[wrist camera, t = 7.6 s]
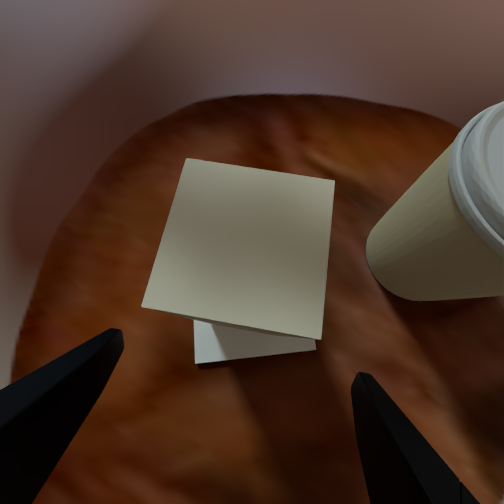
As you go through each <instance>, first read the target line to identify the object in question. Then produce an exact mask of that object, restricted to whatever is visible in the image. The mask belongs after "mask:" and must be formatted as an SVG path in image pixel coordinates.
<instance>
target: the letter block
mask: <svg viewBox="0 0 504 504" xmlns="http://www.w3.org/2000/svg"><path fill="white" fill-rule="evenodd" d="M334 184H335V181H333V180H327V179H320V178H314V177H307V176H301V175H294V174H288V173H281V172H275V171H268V170H262V169H255V168H248V167H242V166H235V165H229V164H222V163H216V162H209V161H203V160H196V159H190V158H186V161H185V164H184V167H183V171H182V174H181V177H180V181H179V184H178V187H177V190H176V194H175V197H174V200H173V204H172V207H171V210H170V213H169V217H168V220H167V223H166V227H165V230H164V233H163V236H162V240H161V243H160V246H159V250H158V253H157V256H156V259H155V263H154V266H153V269H152V273H151V276H150V279H149V282H148V286H147V289H146V292H145V296H144V299H143V302H142V306H141V307H144V308H148V309H152V310H156V311H160V312H165V313H169V314H173V315H177V316H181V317H185V318H189V319H193V320H198V321H202V322H206V323H210V324H215V325H220V326H226V327H231V328H237V329H242V330H248V331H253V332H259V333H264V334H269V335H275V336H285V337H297V338H308V339H319V340H321V334H322V323H323V311H324V300H325V288H326V276H327V265H328V253H329V242H330V230H331V219H332V207H333V196H334Z"/></svg>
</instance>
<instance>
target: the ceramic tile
mask: <svg viewBox="0 0 504 504" xmlns="http://www.w3.org/2000/svg"><path fill="white" fill-rule="evenodd" d="M194 341H195V364H197V363H206V362H215V361H223V360H232V359H241V358H249V357H258V356H267V355H275V354H284V353H293V352H301V351H310V350H316V345H315V339H308V338H297V337H285V336H275V335H269V334H264V333H259V332H253V331H248V330H242V329H237V328H231V327H226V326H220V325H215V324H210V323H206V322H202V321H198V320H194Z"/></svg>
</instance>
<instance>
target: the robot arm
mask: <svg viewBox="0 0 504 504" xmlns="http://www.w3.org/2000/svg"><path fill="white" fill-rule="evenodd" d="M123 350H124V339H123V333H122V331H121V330H120V329H114V328H110V329H108V330H106V331H104V332H103V333H101V334H99V335H97V336H95V337H94V338H92V339H90V340H88V341H86V342H85V343H83V344H81V345H79V346H78V347H76V348H74V349H72V350H70V351H69V352H67V353H65V354H63V355H62V356H60V357H58V358H56V359H54V360H53V361H51V362H49V363H47V364H46V365H44V366H42V367H40V368H38V369H37V370H35V371H33V372H31V373H29V374H28V375H26V376H24V377H22V378H21V379H19V380H17V381H15V382H13V383H12V384H10V385H8V386H6V387H5V388H3V389H1V390H0V504H32V503H33V501H34V499H35V498H36V496H37V495H38V493H39V492H40V490H41V488H42V487H43V485H44V484H45V482H46V480H47V479H48V477H49V476H50V474H51V472H52V471H53V469H54V468H55V466H56V465H57V463H58V461H59V460H60V458H61V457H62V455H63V453H64V452H65V450H66V449H67V447H68V445H69V444H70V442H71V441H72V439H73V438H74V436H75V434H76V433H77V431H78V430H79V428H80V426H81V425H82V423H83V422H84V420H85V419H86V417H87V415H88V414H89V412H90V411H91V409H92V407H93V406H94V404H95V403H96V401H97V399H98V398H99V396H100V395H101V393H102V391H103V390H104V388H105V386H106V384H107V382H108V380H109V378H110V376H111V374H112V372H113V370H114V368H115V366H116V364H117V362H118V360H119V358H120V356H121V354H122V352H123ZM351 397H352V406H353V415H354V423H355V432H356V439H357V444H358V449H359V453H360V458H361V463H362V467H363V472H364V476H365V481H366V486H367V490H368V495H369V500H370V504H480V503H479V502H478V501H477V500H476V499H475V497H474V496H473V495H472V494H471V493H470V491H469V490H468V489H467V488H466V487H465V485H464V484H463V483H462V482H460V481H459V478H458V477H457V476H456V475H455V474H454V473H453V471H452V470H451V469H450V468H449V467H448V465H447V464H446V463H445V462H444V461H443V459H442V458H441V457H440V456H439V455H438V453H437V452H436V451H435V450H434V449H433V448H432V446H431V445H430V444H429V443H428V442H427V440H426V439H425V438H424V437H423V436H422V434H421V433H420V432H419V431H418V430H417V429H416V427H415V426H414V425H413V424H412V423H411V421H410V420H409V419H408V418H407V417H406V415H405V414H404V413H403V412H402V411H401V409H400V408H399V407H398V406H397V405H396V404H395V402H394V401H393V400H392V399H391V398H390V396H389V395H388V394H387V393H386V392H385V390H384V389H383V388H382V387H381V386H380V385H379V383H378V382H377V381H376V380H375V379H374V377H373V376H372V375H371V374H369V373H364V372H358V373H357V375H356V377H355V379H354V381H353V384H352V386H351Z"/></svg>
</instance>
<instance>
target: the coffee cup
mask: <svg viewBox="0 0 504 504" xmlns="http://www.w3.org/2000/svg"><path fill="white" fill-rule="evenodd" d="M366 256H367V261H368V264H369V267H370V269H371V271H372V273H373V275H374V276H375V278H376V279H377V280H378V281H379V283H380V284H381V285H382V286H384V287H385V288H386V289H387V290H388V291H390V292H392V293H393V294H395V295H397V296H399V297H402V298H405V299H408V300H413V301H436V300H450V299H465V298H479V297H493V296H504V101H503V102H501V103H499V104H496V105H493V106H491V107H489V108H487V109H485V110H484V111H482V112H481V113H479V114H478V115H476V116H475V117H474V118H473V119H472V120H470V121H469V123H467V125H466V126H465V127H464V128H463V129H462V130H461V131H460V133H459V134H458V136H457V137H456V139H455V141H454V142H453V143H452V144H451V145H450V146H449V147H448V148H447V149H446V150H445V151H444V152H443V153H442V154H441V155H440V156H439V157H438V158H437V159H436V161H435V162H434V163H433V164H432V165H431V166H430V167H429V168H428V169H427V170H426V171H425V172H424V173H423V174H422V175H421V176H420V177H419V179H418V180H417V181H416V182H415V183H414V184H413V185H412V186H411V187H410V188H409V189H408V190H407V191H406V192H405V193H404V195H403V196H402V197H401V198H400V199H399V200H398V201H397V202H396V203H395V204H394V205H393V206H392V208H391V209H390V210H389V211H388V212H387V213H386V214H385V215H384V216H383V217H382V218H381V219H380V221H379V222H378V223H377V224H376V225H375V227H374V228H373V229H372V231H371V232H370V234H369V236H368V239H367V244H366Z"/></svg>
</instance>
